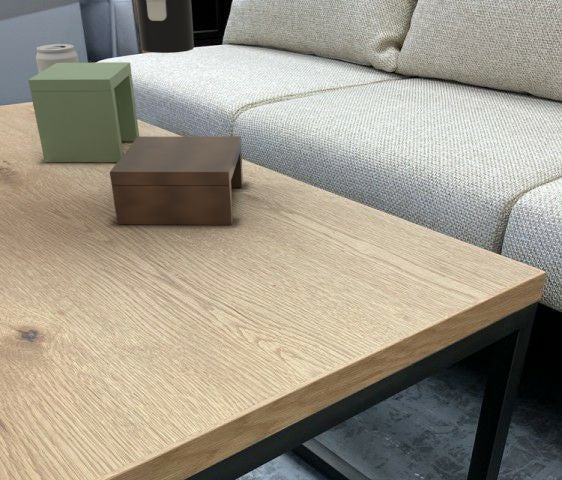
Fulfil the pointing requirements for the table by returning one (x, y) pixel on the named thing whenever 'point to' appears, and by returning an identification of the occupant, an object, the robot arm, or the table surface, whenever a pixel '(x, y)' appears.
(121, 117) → the green open cubby
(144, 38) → the black tin
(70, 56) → the beverage can
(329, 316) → the table surface
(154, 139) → the low shelf
